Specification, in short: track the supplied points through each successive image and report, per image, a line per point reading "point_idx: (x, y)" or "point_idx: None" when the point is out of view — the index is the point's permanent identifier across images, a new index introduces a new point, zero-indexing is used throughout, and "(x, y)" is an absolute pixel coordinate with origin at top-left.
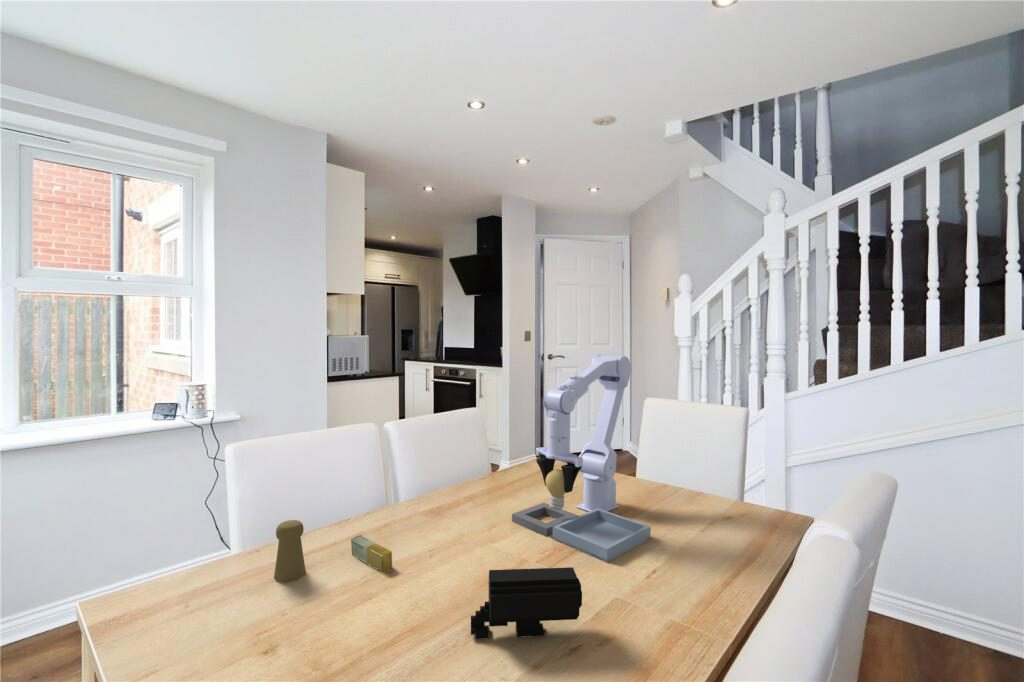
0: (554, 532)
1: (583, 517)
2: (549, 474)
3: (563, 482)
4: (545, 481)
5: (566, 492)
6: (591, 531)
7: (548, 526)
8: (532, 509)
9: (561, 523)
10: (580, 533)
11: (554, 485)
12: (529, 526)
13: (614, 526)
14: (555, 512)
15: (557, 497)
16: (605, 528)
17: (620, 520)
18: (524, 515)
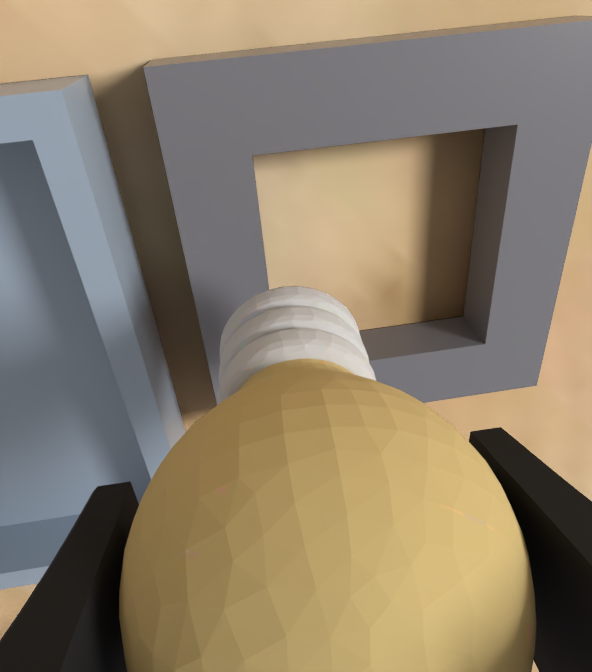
0: (49, 86)
1: (136, 428)
2: (433, 610)
3: (121, 602)
4: (509, 466)
5: (100, 487)
6: (33, 376)
7: (177, 121)
8: (528, 247)
9: (91, 217)
10: (35, 301)
11: (211, 459)
12: (364, 39)
13: (41, 507)
14: (375, 354)
15: (242, 385)
16: (37, 460)
17: (6, 558)
18: (503, 102)
